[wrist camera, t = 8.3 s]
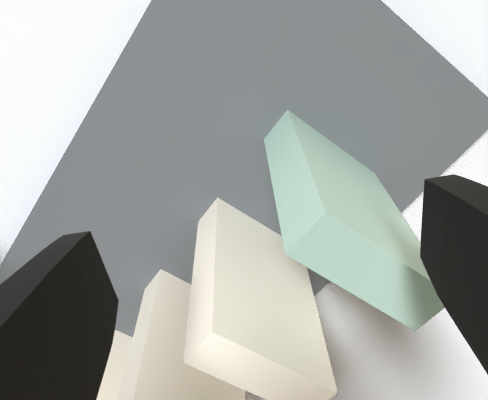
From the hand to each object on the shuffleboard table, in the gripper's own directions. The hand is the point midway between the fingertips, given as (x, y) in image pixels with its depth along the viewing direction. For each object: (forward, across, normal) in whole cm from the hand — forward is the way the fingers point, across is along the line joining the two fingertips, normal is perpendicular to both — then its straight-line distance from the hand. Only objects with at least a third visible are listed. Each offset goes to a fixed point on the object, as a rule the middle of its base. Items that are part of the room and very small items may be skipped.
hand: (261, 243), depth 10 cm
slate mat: (+10, +4, +7) cm, 13 cm away
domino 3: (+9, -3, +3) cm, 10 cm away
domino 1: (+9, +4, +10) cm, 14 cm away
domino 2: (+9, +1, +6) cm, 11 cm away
